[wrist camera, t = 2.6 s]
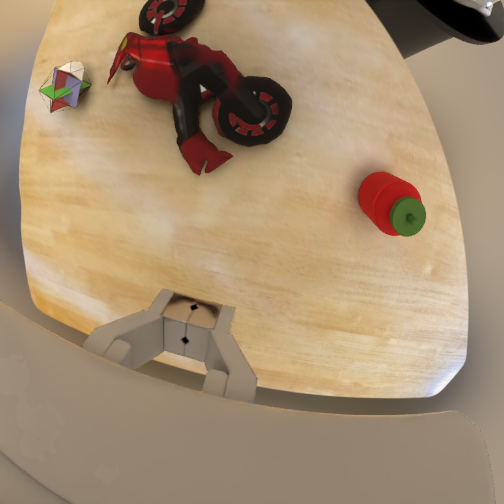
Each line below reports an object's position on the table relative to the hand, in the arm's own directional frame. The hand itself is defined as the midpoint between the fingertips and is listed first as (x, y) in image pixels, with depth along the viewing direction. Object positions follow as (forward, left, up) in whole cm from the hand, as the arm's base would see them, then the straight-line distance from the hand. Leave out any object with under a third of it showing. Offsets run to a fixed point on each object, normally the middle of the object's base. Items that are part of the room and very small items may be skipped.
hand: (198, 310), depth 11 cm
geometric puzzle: (+3, -29, -23) cm, 37 cm away
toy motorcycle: (-6, -15, -23) cm, 28 cm away
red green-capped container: (-10, +12, -23) cm, 28 cm away
